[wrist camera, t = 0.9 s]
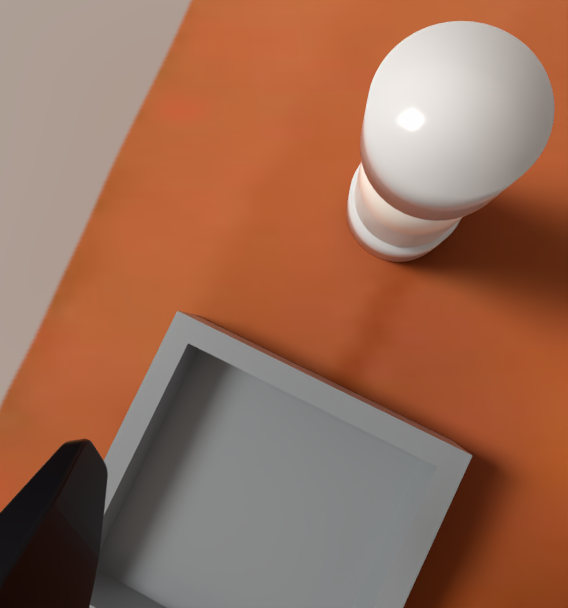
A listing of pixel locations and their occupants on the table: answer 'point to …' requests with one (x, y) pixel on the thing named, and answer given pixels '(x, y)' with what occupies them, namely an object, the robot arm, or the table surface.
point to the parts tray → (264, 486)
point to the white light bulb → (445, 135)
